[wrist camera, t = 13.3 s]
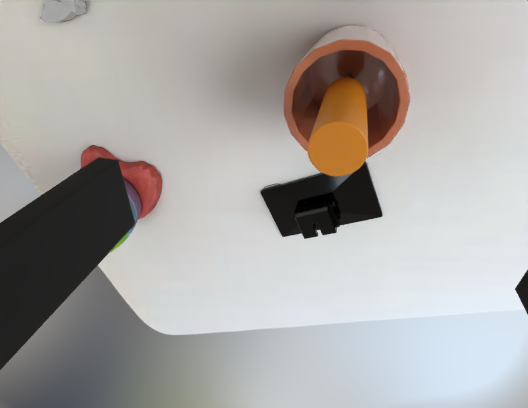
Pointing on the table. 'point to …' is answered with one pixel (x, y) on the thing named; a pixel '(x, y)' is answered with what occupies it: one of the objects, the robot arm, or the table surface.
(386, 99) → the pen cup
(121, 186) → the robot arm
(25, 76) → the table surface
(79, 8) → the adjustable wrench
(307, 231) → the build plate
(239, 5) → the table surface
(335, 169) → the orange round dowel
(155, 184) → the stacking bear
